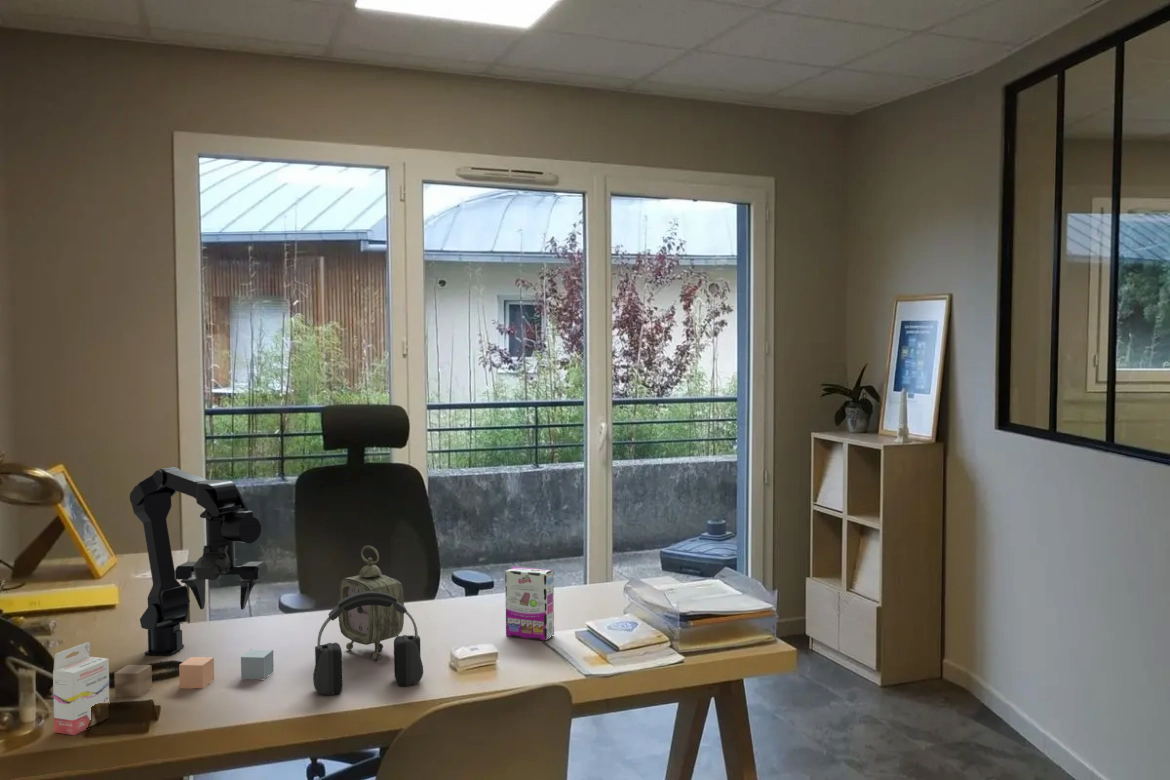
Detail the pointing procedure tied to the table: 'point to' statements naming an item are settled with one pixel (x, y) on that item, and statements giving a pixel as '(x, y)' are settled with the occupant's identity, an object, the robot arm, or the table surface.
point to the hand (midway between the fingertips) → (222, 609)
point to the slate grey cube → (257, 664)
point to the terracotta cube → (196, 672)
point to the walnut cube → (133, 680)
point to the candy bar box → (529, 603)
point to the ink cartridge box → (78, 688)
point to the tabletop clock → (370, 607)
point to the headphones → (330, 654)
